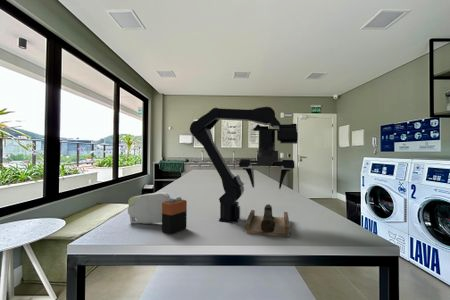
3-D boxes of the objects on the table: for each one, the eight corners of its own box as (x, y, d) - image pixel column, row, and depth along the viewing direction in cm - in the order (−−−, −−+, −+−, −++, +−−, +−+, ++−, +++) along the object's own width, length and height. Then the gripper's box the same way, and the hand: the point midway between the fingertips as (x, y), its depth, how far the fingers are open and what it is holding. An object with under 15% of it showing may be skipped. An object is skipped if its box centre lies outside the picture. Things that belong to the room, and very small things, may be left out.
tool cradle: (245, 233, 68) (245, 223, 68) (251, 217, 85) (251, 209, 85) (289, 237, 65) (289, 226, 65) (287, 220, 82) (287, 212, 82)
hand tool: (274, 234, 65) (275, 217, 65) (260, 232, 66) (260, 216, 66) (276, 216, 84) (276, 203, 84) (265, 215, 85) (265, 203, 85)
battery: (161, 231, 69) (161, 199, 69) (177, 226, 75) (177, 195, 75) (170, 234, 67) (171, 200, 67) (187, 228, 72) (187, 197, 72)
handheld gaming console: (134, 227, 80) (173, 224, 77) (129, 229, 77) (170, 227, 74) (131, 195, 80) (169, 191, 77) (125, 197, 77) (166, 192, 74)
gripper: (235, 142, 75) (235, 190, 74) (294, 142, 70) (294, 193, 69) (242, 144, 85) (242, 185, 85) (294, 144, 80) (294, 188, 80)
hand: (266, 188), depth 80 cm, fingers open, 9 cm apart
